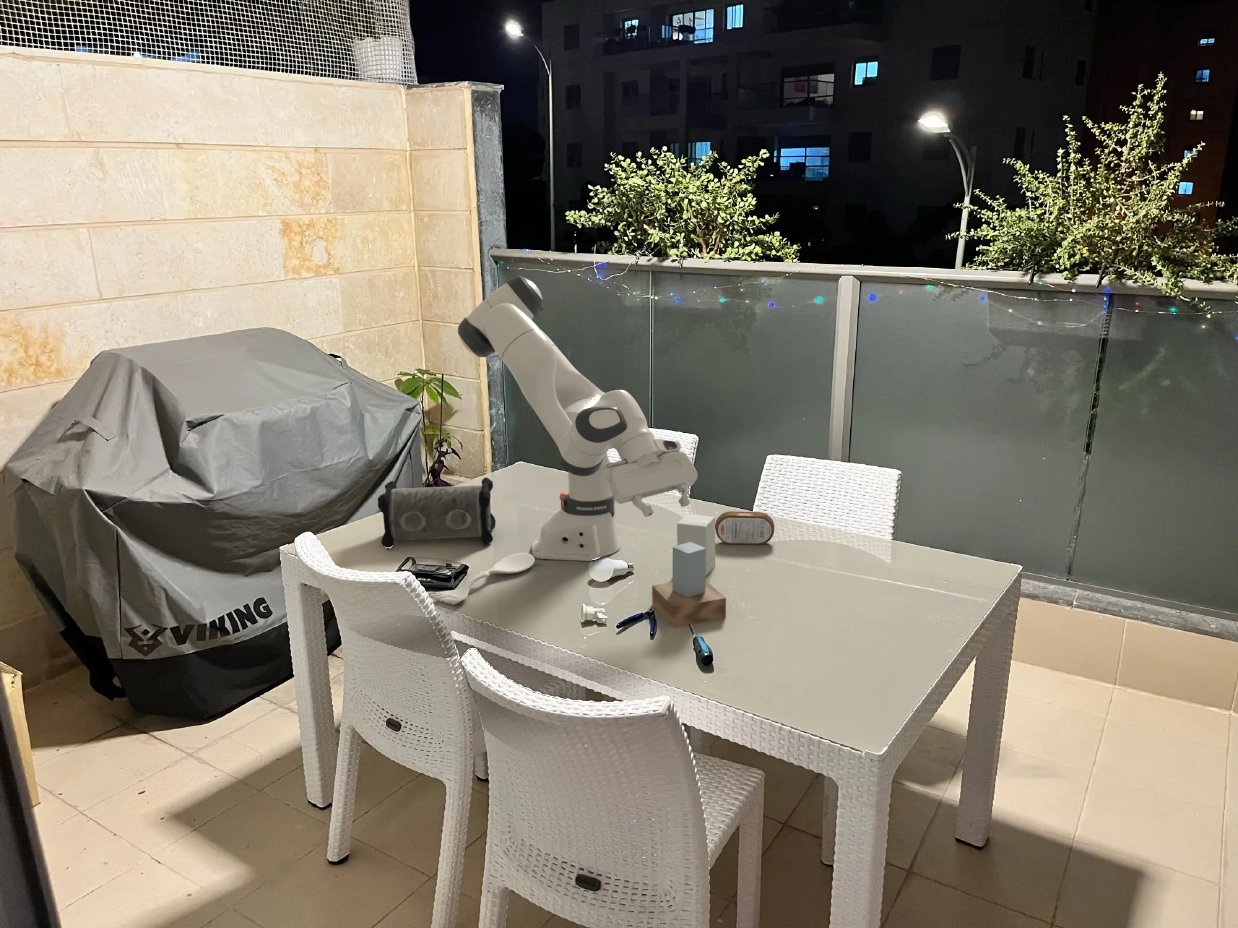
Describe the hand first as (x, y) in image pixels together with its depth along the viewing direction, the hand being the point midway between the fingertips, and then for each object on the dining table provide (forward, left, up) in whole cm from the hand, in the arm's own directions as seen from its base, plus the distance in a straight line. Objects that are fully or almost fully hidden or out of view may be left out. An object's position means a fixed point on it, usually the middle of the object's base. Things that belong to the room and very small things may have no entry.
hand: (667, 510), depth 204 cm
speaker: (-57, +44, -22) cm, 75 cm away
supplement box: (+8, +19, -22) cm, 30 cm away
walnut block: (+4, -4, -22) cm, 23 cm away
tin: (+22, +35, -22) cm, 47 cm away
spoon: (-42, +14, -22) cm, 49 cm away
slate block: (+4, -4, -17) cm, 18 cm away
